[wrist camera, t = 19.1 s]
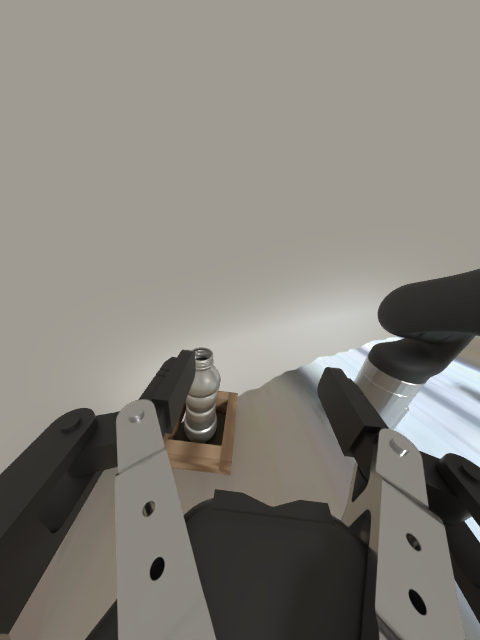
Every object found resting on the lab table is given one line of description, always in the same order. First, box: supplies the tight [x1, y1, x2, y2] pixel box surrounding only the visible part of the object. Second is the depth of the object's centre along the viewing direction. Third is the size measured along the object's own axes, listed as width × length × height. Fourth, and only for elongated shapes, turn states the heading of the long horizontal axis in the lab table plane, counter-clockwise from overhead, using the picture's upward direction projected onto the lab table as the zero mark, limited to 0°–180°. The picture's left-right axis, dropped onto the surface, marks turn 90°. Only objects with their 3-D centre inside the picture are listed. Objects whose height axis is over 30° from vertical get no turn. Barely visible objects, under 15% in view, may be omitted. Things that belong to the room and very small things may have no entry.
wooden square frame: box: [163, 391, 238, 475], centre depth 35 cm, size 14×14×4 cm
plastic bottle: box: [184, 347, 221, 443], centre depth 32 cm, size 6×7×20 cm
